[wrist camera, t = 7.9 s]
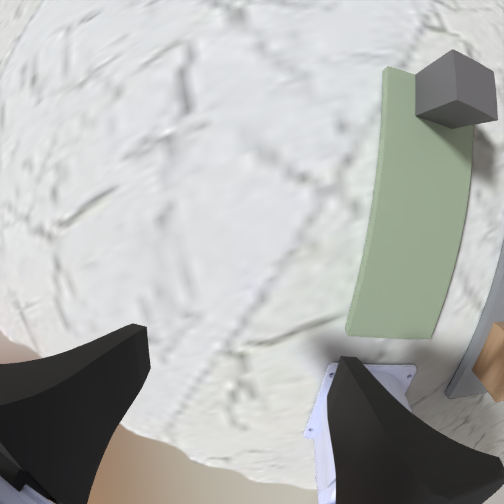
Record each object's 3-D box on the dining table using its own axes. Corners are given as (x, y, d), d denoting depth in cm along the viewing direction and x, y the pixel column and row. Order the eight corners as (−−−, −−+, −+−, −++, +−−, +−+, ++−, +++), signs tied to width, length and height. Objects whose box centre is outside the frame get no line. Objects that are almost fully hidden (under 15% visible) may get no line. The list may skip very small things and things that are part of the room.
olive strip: (424, 333, 18) (458, 378, 13) (344, 328, 19) (363, 382, 13) (465, 101, 13) (515, 86, 8) (382, 70, 14) (419, 34, 8)
